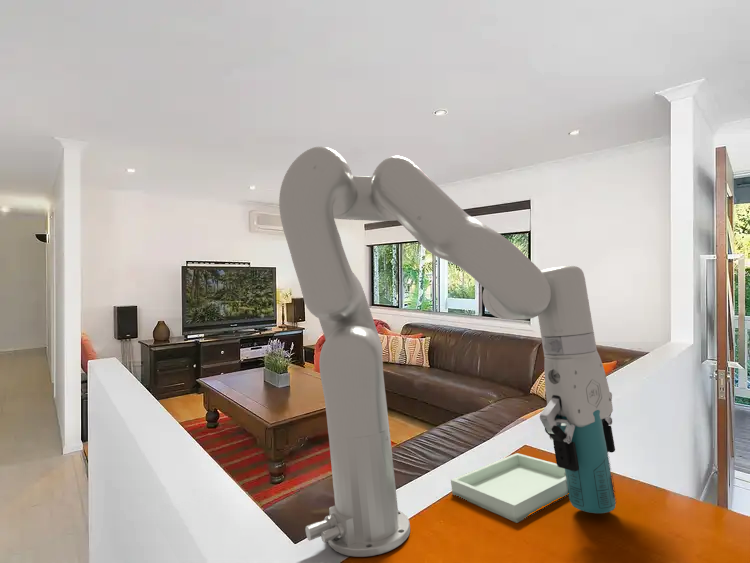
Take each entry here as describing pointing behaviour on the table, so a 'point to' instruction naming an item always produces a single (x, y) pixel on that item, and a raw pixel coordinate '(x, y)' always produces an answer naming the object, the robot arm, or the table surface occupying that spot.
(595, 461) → the beverage bottle
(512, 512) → the tray
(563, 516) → the table surface
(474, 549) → the table surface
